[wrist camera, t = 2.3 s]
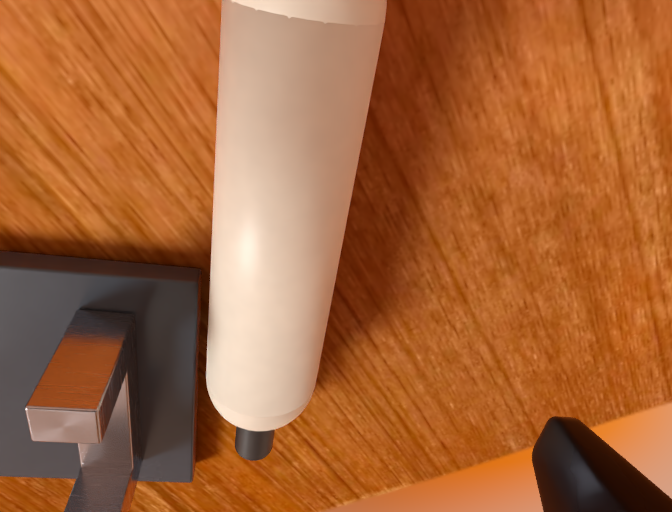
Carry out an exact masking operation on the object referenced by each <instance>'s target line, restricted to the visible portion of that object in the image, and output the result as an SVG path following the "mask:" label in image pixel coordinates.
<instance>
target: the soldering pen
mask: <svg viewBox="0 0 672 512" xmlns="http://www.w3.org/2000/svg"><path fill="white" fill-rule="evenodd" d="M386 8H387V0H222V11H221V35H220V58H219V82H218V105H217V128H216V152H215V175H214V199H213V222H212V246H211V269H210V292H209V316H208V339H207V363H206V383H207V389H208V393H209V396H210V399H211V401H212V403H213V405H214V407H215V408H216V409H217V411H218V412H219V413H220V414H221V415H222V416H223V417H224V418H225V419H226V420H227V421H229V422H230V423H231V424H233V425H235V426H237V427H236V438H235V448H236V451H237V452H238V454H239V455H240V456H241V457H243V458H245V459H247V460H260V459H262V458H264V457H266V456H267V455H268V454H269V453H270V451H271V449H272V445H273V438H274V431H275V429H277V428H280V427H283V426H285V425H286V424H288V423H290V422H291V421H293V420H294V419H295V418H296V417H297V416H299V415H300V414H301V413H302V411H303V410H304V408H305V407H306V406H307V404H308V403H309V401H310V399H311V397H312V394H313V391H314V388H315V385H316V379H317V374H318V369H319V364H320V359H321V353H322V348H323V343H324V338H325V332H326V327H327V322H328V317H329V312H330V306H331V301H332V296H333V291H334V285H335V280H336V275H337V270H338V265H339V259H340V254H341V249H342V244H343V238H344V233H345V228H346V223H347V218H348V212H349V207H350V202H351V197H352V191H353V186H354V181H355V176H356V171H357V165H358V160H359V155H360V150H361V144H362V139H363V134H364V129H365V124H366V118H367V113H368V108H369V103H370V97H371V92H372V87H373V82H374V77H375V71H376V66H377V61H378V56H379V50H380V45H381V40H382V35H383V30H384V24H385V18H386Z"/></svg>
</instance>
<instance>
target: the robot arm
mask: <svg viewBox="0 0 672 512" xmlns="http://www.w3.org/2000/svg"><path fill="white" fill-rule="evenodd" d="M532 462H533V467H534V471H535V476H536V480H537V484H538V488H539V493H540V497H541V502H542V506H543V510H544V512H672V499H671V498H670V497H669V496H668V495H666V494H665V493H664V492H663V491H662V490H660V489H659V488H658V487H657V486H656V485H655V484H654V483H652V482H651V481H650V480H648V478H647V477H645V476H644V475H643V474H642V473H641V472H640V471H638V470H637V469H636V468H635V467H634V466H632V465H631V464H630V463H629V462H628V461H627V460H626V459H624V458H623V457H622V456H621V455H620V454H618V453H617V452H616V451H615V450H614V449H613V448H611V447H610V446H609V445H608V444H607V443H606V442H604V441H603V440H602V439H601V438H600V437H599V436H597V435H596V434H595V433H594V432H593V431H592V430H590V429H589V428H588V427H587V426H586V425H585V424H583V423H582V422H581V421H580V420H578V419H576V418H572V417H556V416H555V417H552V418H550V419H549V420H548V421H547V423H546V425H545V427H544V429H543V431H542V432H541V434H540V436H539V438H538V440H537V442H536V444H535V446H534V448H533V452H532Z"/></svg>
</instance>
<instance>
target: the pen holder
mask: <svg viewBox="0 0 672 512" xmlns="http://www.w3.org/2000/svg"><path fill="white" fill-rule="evenodd" d="M201 278H202V271H201V269H200V268H191V267H180V266H169V265H158V264H147V263H135V262H124V261H113V260H102V259H91V258H80V257H68V256H57V255H46V254H35V253H24V252H12V251H1V250H0V476H7V477H37V478H66V479H76V481H75V484H74V487H73V489H72V492H71V495H70V497H69V500H68V503H67V505H66V508H65V511H64V512H129V510H130V507H131V503H132V499H133V496H134V492H135V488H136V484H137V481H156V482H186V483H190V482H192V481H193V477H194V471H195V465H196V434H197V403H198V371H199V340H200V309H201Z"/></svg>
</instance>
